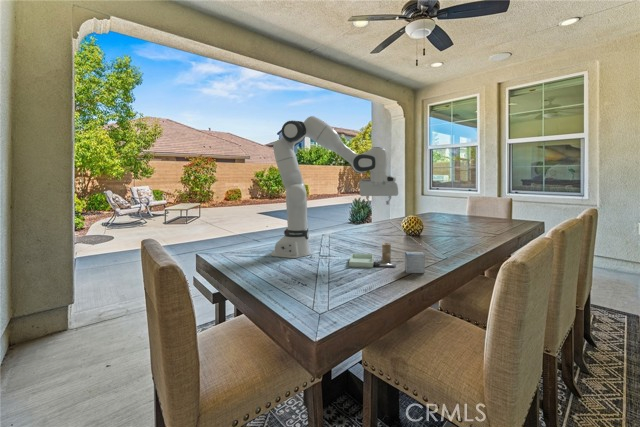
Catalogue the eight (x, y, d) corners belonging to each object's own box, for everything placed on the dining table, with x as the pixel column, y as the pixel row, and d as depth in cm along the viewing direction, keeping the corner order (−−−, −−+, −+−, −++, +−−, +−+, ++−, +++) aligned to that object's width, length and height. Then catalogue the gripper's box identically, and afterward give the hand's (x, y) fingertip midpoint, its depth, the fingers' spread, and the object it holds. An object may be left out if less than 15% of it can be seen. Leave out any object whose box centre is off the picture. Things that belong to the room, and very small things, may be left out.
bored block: (382, 262, 152) (382, 244, 150) (382, 260, 156) (382, 242, 154) (390, 262, 151) (390, 244, 150) (390, 260, 155) (390, 242, 154)
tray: (349, 267, 145) (349, 261, 145) (351, 258, 160) (351, 253, 160) (372, 267, 143) (372, 262, 143) (373, 258, 158) (373, 254, 158)
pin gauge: (373, 266, 145) (373, 262, 144) (373, 265, 147) (373, 261, 146) (395, 267, 143) (395, 263, 142) (395, 266, 145) (395, 261, 144)
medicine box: (422, 270, 138) (422, 251, 137) (424, 273, 134) (425, 254, 133) (404, 270, 139) (404, 251, 138) (406, 273, 135) (406, 254, 133)
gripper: (358, 178, 160) (358, 205, 162) (398, 178, 156) (398, 204, 158) (359, 178, 166) (359, 204, 168) (398, 178, 162) (397, 203, 164)
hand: (378, 204), depth 163 cm, fingers open, 8 cm apart
